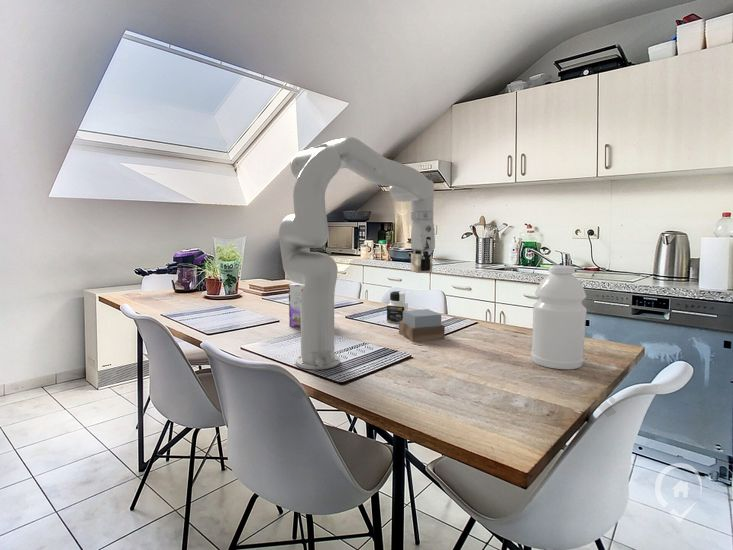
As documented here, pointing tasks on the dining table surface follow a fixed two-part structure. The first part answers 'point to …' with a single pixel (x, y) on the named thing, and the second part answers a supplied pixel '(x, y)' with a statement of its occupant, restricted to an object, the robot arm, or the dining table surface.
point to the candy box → (295, 304)
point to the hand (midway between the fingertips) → (421, 269)
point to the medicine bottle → (396, 307)
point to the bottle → (559, 320)
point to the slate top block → (421, 318)
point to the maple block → (418, 263)
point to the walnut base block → (421, 332)
